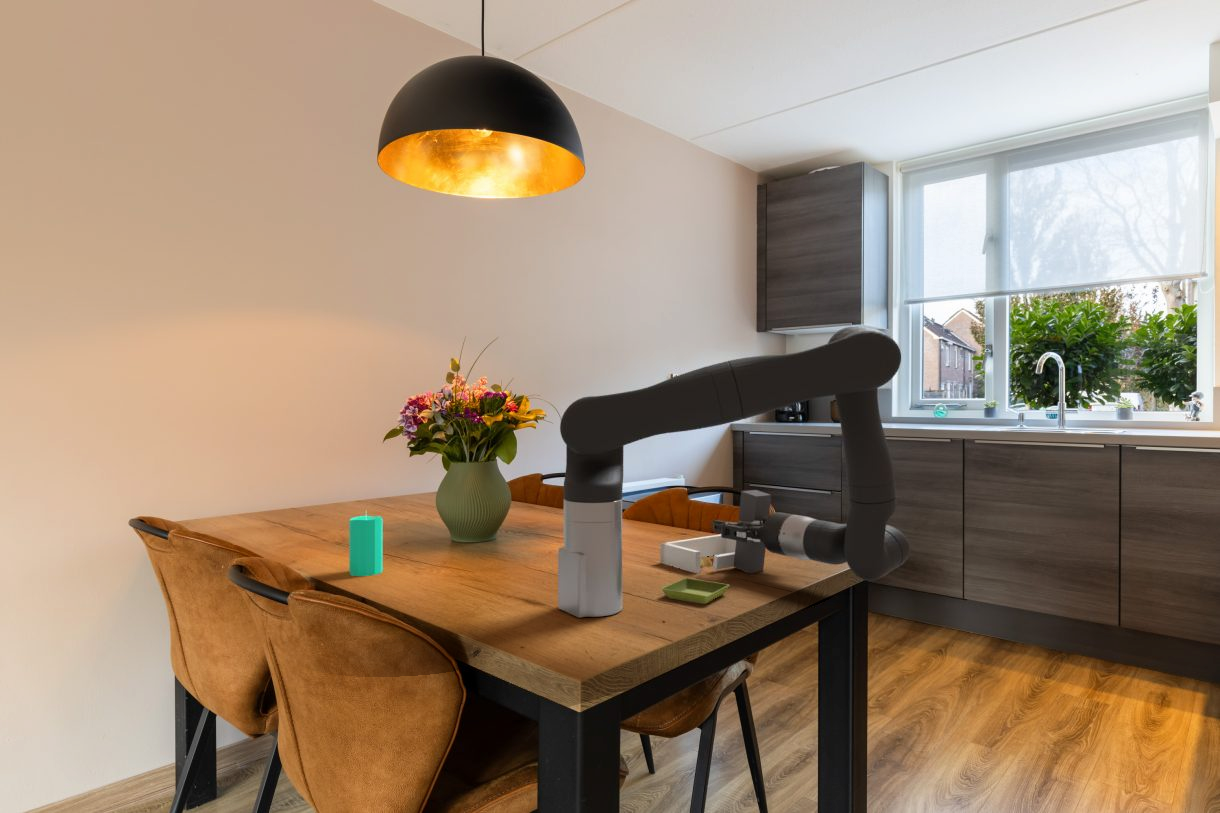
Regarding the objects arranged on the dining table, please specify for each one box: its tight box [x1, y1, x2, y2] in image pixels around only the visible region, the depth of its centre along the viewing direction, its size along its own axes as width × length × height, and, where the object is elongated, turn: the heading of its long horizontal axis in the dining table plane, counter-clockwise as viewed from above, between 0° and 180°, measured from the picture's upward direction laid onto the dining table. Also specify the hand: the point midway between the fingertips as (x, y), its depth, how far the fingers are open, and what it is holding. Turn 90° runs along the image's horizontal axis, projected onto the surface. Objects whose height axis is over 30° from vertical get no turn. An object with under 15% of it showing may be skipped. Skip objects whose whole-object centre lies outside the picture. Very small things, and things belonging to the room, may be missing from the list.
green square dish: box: [660, 577, 730, 605], centre depth 115 cm, size 9×9×2 cm
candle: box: [348, 509, 384, 577], centre depth 132 cm, size 6×6×12 cm
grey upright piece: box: [712, 489, 772, 574], centre depth 133 cm, size 13×5×15 cm, turn 124°
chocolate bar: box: [700, 556, 714, 568], centre depth 139 cm, size 3×12×2 cm, turn 115°
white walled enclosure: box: [660, 533, 736, 574], centre depth 141 cm, size 18×10×4 cm, turn 125°
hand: (729, 523), depth 137 cm, fingers open, 8 cm apart
